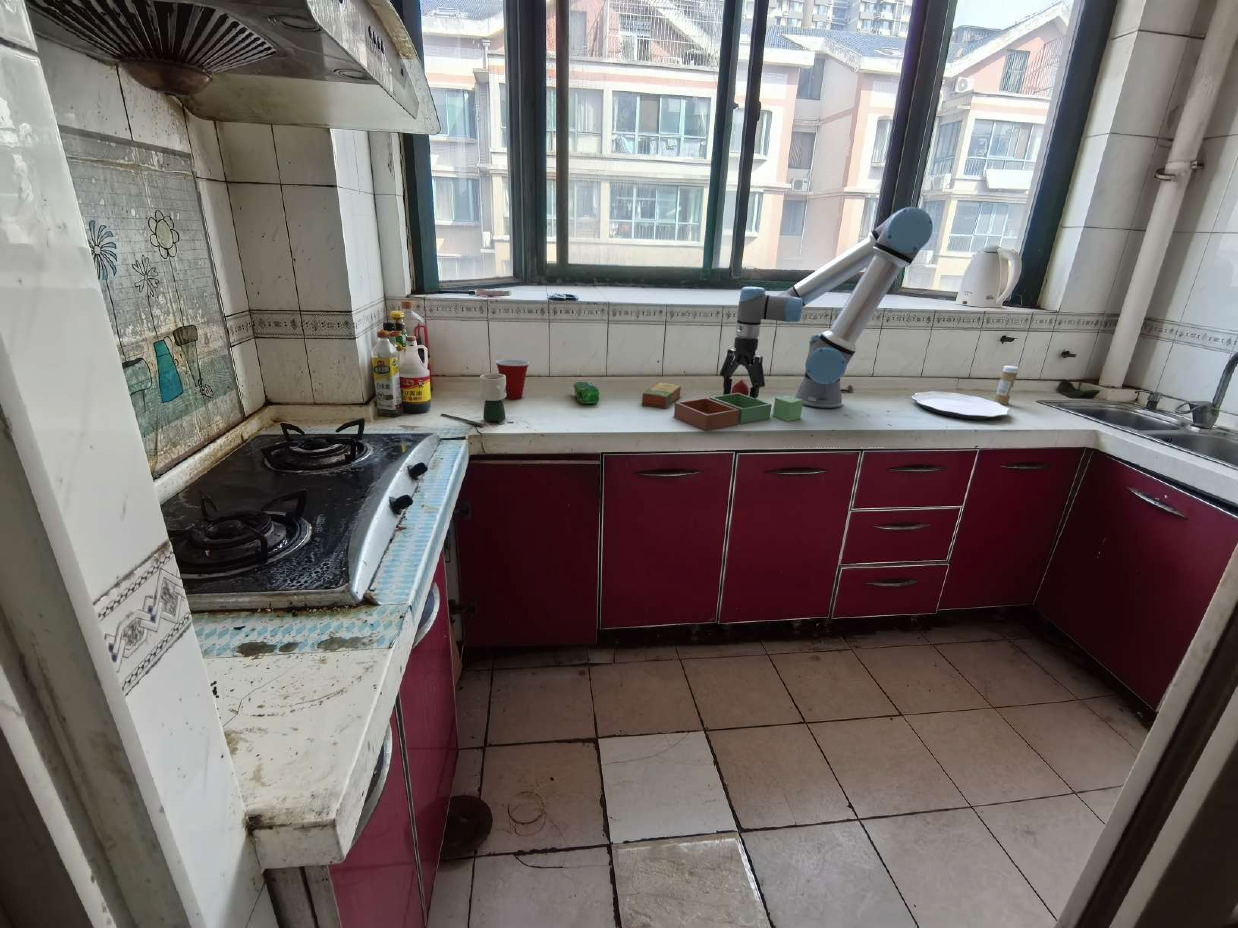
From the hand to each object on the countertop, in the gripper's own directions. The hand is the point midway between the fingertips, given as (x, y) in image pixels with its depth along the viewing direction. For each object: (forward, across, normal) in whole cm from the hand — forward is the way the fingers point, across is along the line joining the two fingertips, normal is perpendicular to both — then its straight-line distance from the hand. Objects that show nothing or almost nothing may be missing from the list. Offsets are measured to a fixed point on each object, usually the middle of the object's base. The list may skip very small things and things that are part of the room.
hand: (738, 402), depth 199 cm
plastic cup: (0, -38, -65) cm, 75 cm away
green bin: (0, +10, -10) cm, 14 cm away
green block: (0, +19, +2) cm, 19 cm away
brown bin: (0, +10, -24) cm, 26 cm away
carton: (0, -13, -23) cm, 26 cm away
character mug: (0, -18, -80) cm, 82 cm away
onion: (0, 0, 0) cm, 0 cm away
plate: (0, +40, +65) cm, 76 cm away
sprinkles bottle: (0, +43, +89) cm, 99 cm away
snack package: (0, -25, -45) cm, 51 cm away
